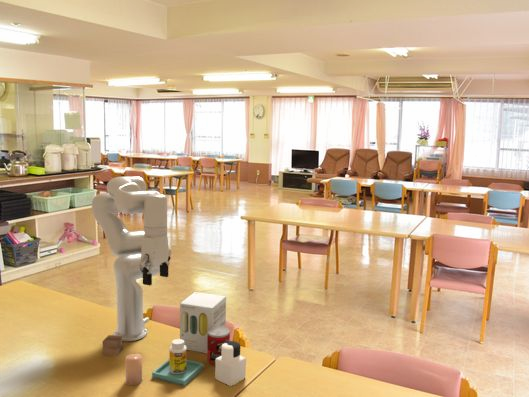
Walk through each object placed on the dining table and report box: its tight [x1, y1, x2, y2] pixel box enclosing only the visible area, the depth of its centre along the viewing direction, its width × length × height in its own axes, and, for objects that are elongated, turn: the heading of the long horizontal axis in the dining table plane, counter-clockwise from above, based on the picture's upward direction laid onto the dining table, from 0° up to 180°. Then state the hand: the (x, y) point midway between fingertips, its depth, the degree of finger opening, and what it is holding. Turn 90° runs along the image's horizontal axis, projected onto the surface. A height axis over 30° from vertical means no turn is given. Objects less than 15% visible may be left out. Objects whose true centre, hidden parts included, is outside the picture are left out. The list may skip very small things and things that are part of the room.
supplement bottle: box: [168, 338, 188, 374], centre depth 154 cm, size 6×6×10 cm
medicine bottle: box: [214, 340, 247, 387], centre depth 151 cm, size 7×7×12 cm
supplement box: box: [179, 291, 227, 354], centre depth 175 cm, size 13×13×18 cm
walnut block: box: [102, 334, 123, 357], centre depth 168 cm, size 5×5×5 cm
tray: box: [151, 359, 204, 387], centre depth 155 cm, size 12×12×2 cm
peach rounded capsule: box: [125, 353, 143, 386], centre depth 149 cm, size 5×5×8 cm
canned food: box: [206, 326, 231, 366], centre depth 163 cm, size 8×8×11 cm
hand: (155, 280), depth 160 cm, fingers open, 9 cm apart
